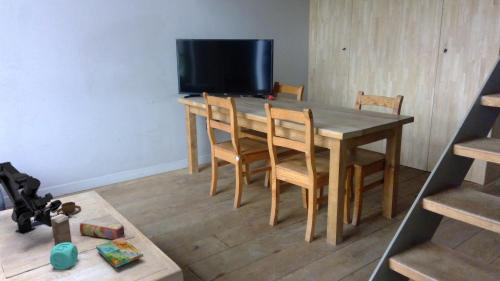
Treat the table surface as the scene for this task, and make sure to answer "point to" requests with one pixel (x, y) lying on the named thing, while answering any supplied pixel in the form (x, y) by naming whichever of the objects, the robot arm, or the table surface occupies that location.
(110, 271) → the table surface
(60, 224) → the walnut block
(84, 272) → the table surface
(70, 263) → the decorative dice
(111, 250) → the puzzle game
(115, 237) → the snack package
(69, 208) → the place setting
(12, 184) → the robot arm
